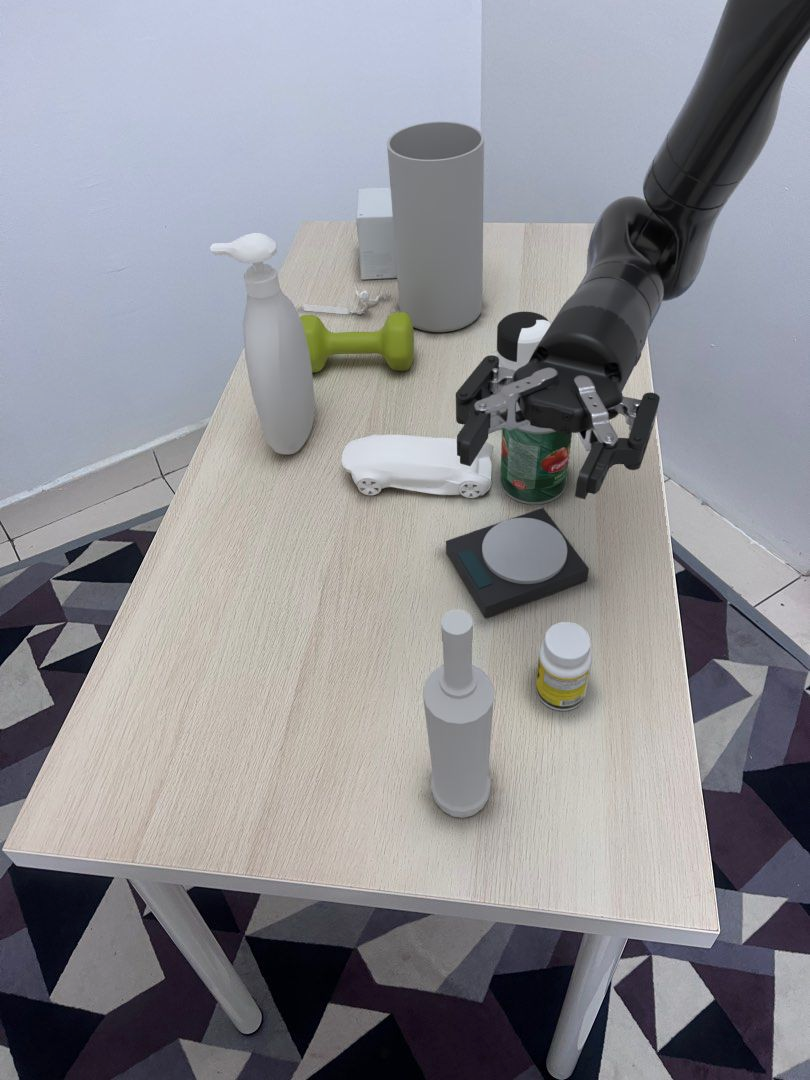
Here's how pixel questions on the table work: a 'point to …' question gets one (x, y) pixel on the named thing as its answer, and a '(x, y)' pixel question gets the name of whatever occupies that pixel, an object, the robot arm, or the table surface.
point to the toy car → (416, 465)
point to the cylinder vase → (438, 222)
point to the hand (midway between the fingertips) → (521, 472)
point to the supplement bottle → (564, 666)
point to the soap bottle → (273, 348)
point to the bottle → (459, 721)
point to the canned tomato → (534, 463)
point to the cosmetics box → (376, 233)
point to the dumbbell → (362, 341)
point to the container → (519, 339)
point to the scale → (516, 562)
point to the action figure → (340, 310)
